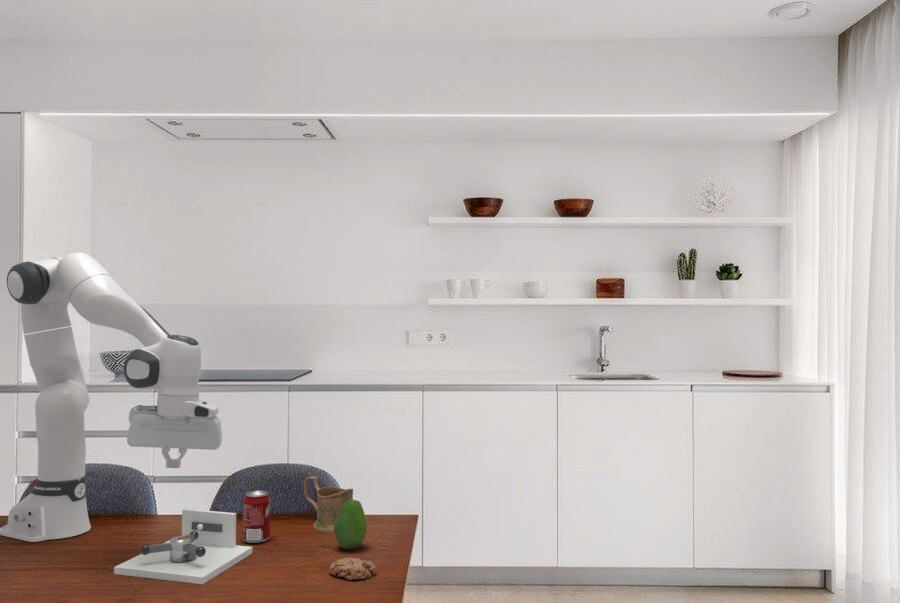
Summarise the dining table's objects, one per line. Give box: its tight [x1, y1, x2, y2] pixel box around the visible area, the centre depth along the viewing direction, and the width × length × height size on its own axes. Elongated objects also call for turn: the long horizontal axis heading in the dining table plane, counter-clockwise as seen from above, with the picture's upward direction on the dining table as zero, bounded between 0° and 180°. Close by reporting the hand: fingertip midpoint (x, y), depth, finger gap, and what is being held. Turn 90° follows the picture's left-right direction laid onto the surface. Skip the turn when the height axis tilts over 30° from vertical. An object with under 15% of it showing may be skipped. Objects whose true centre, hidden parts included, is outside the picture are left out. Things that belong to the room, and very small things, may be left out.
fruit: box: [333, 499, 367, 551], centre depth 180 cm, size 8×8×12 cm
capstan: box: [139, 531, 206, 562], centre depth 165 cm, size 15×13×5 cm
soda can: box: [241, 490, 271, 545], centre depth 186 cm, size 7×7×12 cm
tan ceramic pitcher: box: [303, 476, 354, 533], centre depth 201 cm, size 12×18×12 cm, turn 54°
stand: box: [113, 508, 254, 585], centre depth 168 cm, size 22×21×10 cm
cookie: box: [328, 557, 377, 581], centre depth 163 cm, size 10×11×3 cm
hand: (173, 467), depth 166 cm, fingers closed
